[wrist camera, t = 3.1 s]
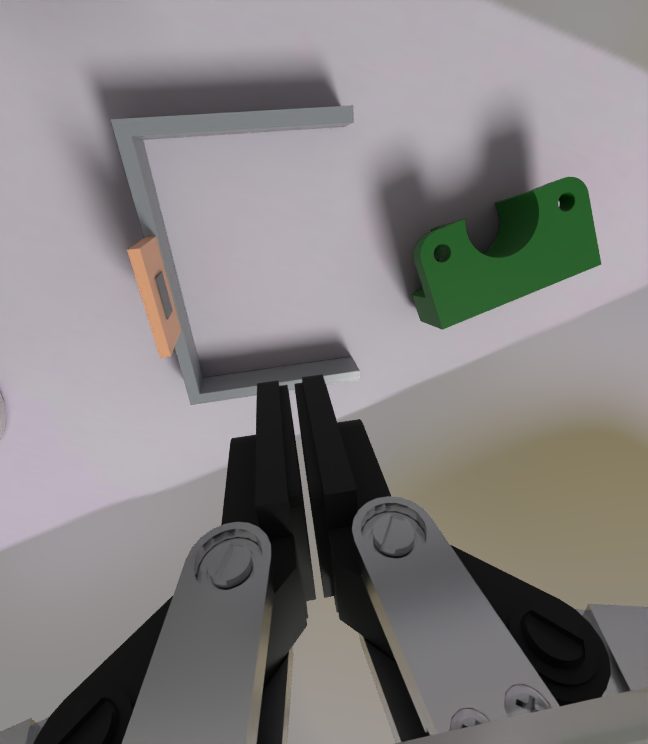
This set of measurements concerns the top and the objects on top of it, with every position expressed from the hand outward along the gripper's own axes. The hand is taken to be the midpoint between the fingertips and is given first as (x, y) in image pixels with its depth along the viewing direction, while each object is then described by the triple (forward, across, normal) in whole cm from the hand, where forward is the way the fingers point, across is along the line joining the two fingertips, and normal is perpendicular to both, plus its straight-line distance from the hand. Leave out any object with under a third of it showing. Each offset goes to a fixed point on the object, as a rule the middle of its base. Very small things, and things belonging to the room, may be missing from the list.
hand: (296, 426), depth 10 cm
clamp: (+20, -15, +1) cm, 25 cm away
